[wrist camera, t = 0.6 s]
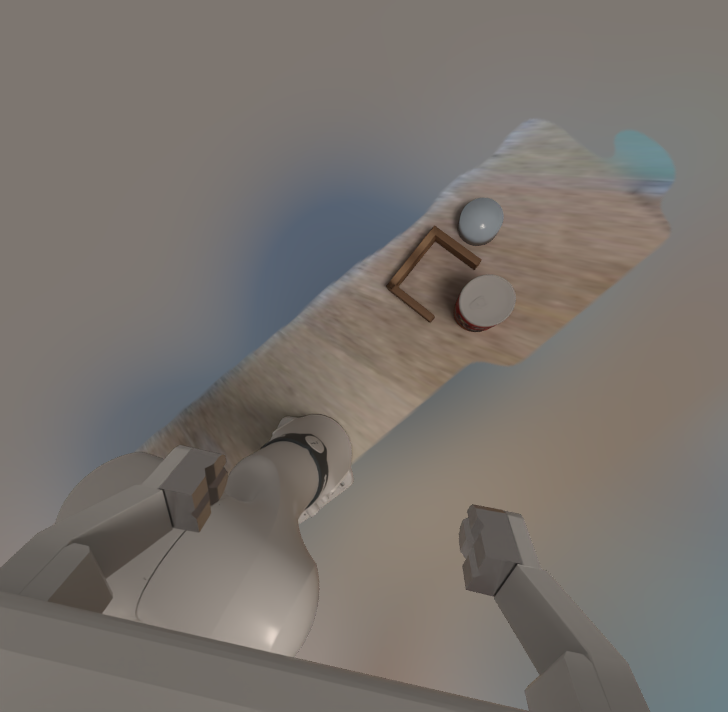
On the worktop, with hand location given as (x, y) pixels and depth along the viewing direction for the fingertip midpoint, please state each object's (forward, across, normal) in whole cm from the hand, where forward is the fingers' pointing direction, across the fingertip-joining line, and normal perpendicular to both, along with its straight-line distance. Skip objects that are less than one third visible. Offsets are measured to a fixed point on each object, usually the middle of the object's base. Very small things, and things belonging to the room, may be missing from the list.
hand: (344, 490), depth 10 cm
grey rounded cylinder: (+56, +14, +4) cm, 58 cm away
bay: (+52, +8, -5) cm, 53 cm away
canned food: (+49, +16, -9) cm, 52 cm away
